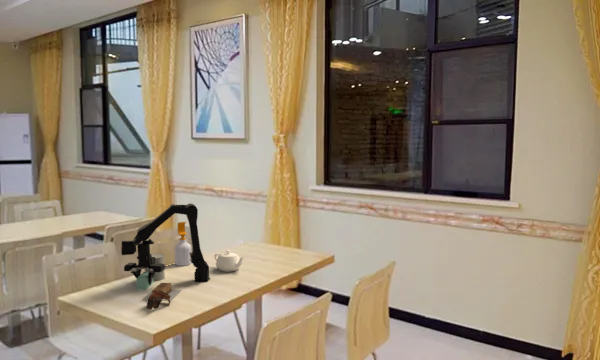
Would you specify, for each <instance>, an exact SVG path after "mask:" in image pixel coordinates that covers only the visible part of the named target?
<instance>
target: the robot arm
mask: <svg viewBox="0 0 600 360" xmlns="http://www.w3.org/2000/svg"><path fill="white" fill-rule="evenodd" d="M198 211H199V210H198V208H197V206H196V205H195V204H194V203H187V204H171V205H170V206H169V207H167V208H166V209H165V210H164V211H162V212H161V213H160V214H159V215H158V216H156V217H155V218H154V219H153V220H152V221H150V222H148V223H146V224H144V225H142V226H141V227H139V228H138V229H137V230H136V235H135V237H133V239H132V240H122V241H121V249H120V250H121V256H128V255H129V256H130V255H135V254H136V253H137V255H136V260H137V262H128V263H127V264H125V265H124V267H123V272H130V274H132V275H133V276H134V277H135V279H136V278H138V277H139V276H140V275H141V274H142V270H145V269H150V272H148V277H149V285H151V283H152V279H153V276H154V274H155V273H156V272H162V271H163V270H164V271H165V270H166V265H165V263H164V264H161V263H157V264H155V258H156V257H152V255H151V254H152V253H151V245H154V244H155V242H154V240H152V239H151V238H150V237H151V236H152V235H153V234H154V232H155V231H156V230H157V229H158V228H159V227H160V226H161V225H162V224H164V223H165V222H167V220H170V218H171V217H173V215H176V214H179V215H186V218H187V221H188V225H189V227H188V228H189V232H190V234H189V235H190V241H191V253H189V254H190V261H191V264H192V265H193V267H194V268H195V269H194V270H195V271H194V275H193V276H194V283H208V282H209V281H210V280H211V277H210V266H209V264H208V262H207V261H206V260H205V258H204V255H203V253H202V252H203V251H202V250H201V246H200V245H201V244H200V237H199V228H198V215H199V214H198ZM151 264H155V265H151ZM151 286H152V285H151Z"/></svg>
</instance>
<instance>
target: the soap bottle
mask: <svg viewBox="0 0 600 360" xmlns="http://www.w3.org/2000/svg"><path fill="white" fill-rule="evenodd" d="M186 223H187V221H179V222H177V233H178V235H179V236H180V237H179V242H178V243H177V244H176V245H175V247H174V259H175V260H174V261H175V262H174V263H175V265H176V266H178V267H185V266H189V265H192V263H191V261H190V254H189V253H192V244H190V243H189V242H187V238H186V237H185V236H187V235H188V233H187V232H186Z"/></svg>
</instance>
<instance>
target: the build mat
mask: <svg viewBox="0 0 600 360" xmlns="http://www.w3.org/2000/svg"><path fill="white" fill-rule="evenodd" d="M171 290H172V291H171V292H170V293H169V294H168V295H170V296H171V297H170V302H172V301H173V300H174V299H175V298H176V297H177V296H178V295H179V294H180V293H181V292H182V290H179V289H171ZM151 294H152V290H151V291H150V292H148V294H146V295H145V296H144V297H142V299H141V301H148V298H149V297H150V295H151ZM153 300H154V299H153ZM161 302H169V301H168V300H166V299H162V301H161Z"/></svg>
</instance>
